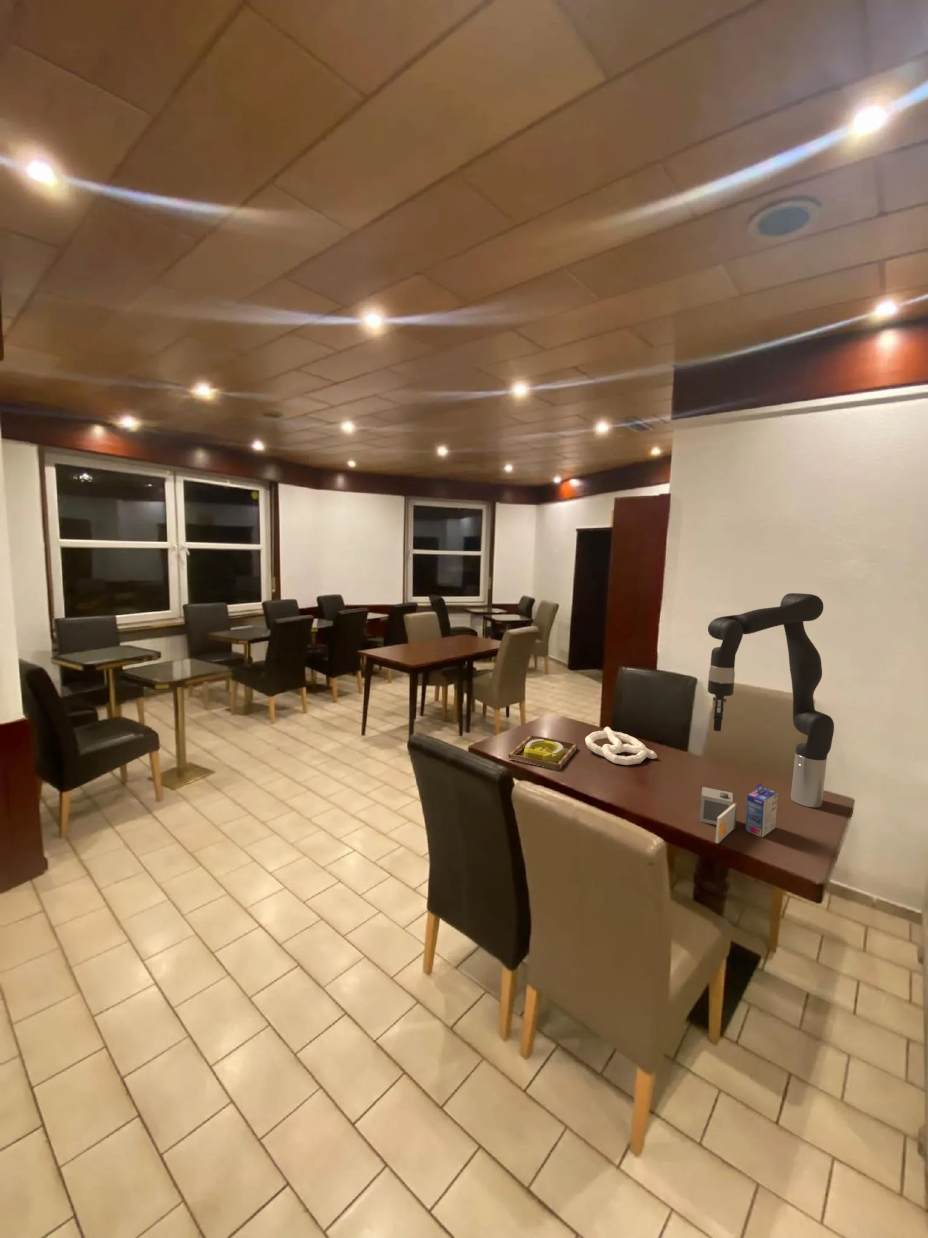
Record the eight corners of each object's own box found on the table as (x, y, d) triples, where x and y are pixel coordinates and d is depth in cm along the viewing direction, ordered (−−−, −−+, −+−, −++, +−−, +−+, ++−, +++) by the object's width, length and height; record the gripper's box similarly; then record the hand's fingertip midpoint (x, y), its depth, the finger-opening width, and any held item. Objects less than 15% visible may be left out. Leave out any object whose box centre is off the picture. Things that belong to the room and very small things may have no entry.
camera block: (700, 812, 173) (702, 784, 171) (730, 818, 168) (732, 790, 167) (699, 821, 166) (701, 793, 165) (730, 828, 162) (732, 799, 161)
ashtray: (516, 761, 213) (516, 750, 213) (533, 745, 232) (533, 735, 231) (553, 769, 206) (554, 757, 205) (568, 752, 224) (568, 741, 223)
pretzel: (660, 761, 219) (663, 747, 218) (625, 775, 206) (628, 761, 204) (609, 733, 241) (611, 721, 240) (574, 745, 228) (576, 732, 226)
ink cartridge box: (757, 821, 167) (761, 779, 165) (775, 828, 163) (780, 785, 161) (743, 830, 161) (747, 787, 160) (762, 838, 157) (766, 793, 155)
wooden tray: (530, 739, 238) (530, 734, 237) (577, 748, 228) (577, 743, 227) (508, 760, 214) (508, 754, 213) (559, 770, 204) (559, 764, 203)
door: (715, 843, 153) (717, 816, 152) (731, 827, 162) (734, 802, 161) (722, 845, 152) (724, 819, 151) (738, 830, 161) (740, 804, 160)
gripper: (709, 674, 174) (705, 723, 176) (707, 682, 162) (703, 734, 164) (734, 676, 170) (729, 726, 173) (734, 685, 159) (729, 738, 161)
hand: (717, 730), depth 168 cm, fingers closed
